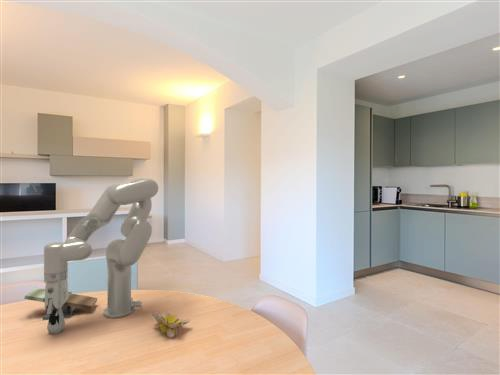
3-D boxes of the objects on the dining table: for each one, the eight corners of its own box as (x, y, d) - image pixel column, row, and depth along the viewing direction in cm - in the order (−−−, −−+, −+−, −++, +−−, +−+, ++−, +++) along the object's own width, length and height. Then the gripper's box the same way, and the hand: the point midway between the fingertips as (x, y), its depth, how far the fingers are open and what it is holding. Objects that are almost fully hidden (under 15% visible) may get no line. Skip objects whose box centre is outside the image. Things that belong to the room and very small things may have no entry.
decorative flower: (197, 327, 113) (191, 304, 112) (172, 345, 106) (165, 320, 104) (176, 317, 124) (170, 295, 122) (151, 333, 116) (145, 310, 115)
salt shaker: (68, 328, 115) (68, 295, 114) (57, 335, 109) (57, 301, 109) (54, 327, 115) (54, 294, 115) (43, 334, 110) (43, 300, 109)
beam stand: (80, 303, 137) (80, 290, 137) (69, 318, 123) (69, 303, 123) (56, 305, 135) (56, 292, 134) (42, 320, 121) (42, 305, 121)
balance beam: (96, 301, 136) (97, 298, 136) (91, 309, 127) (92, 306, 127) (34, 290, 130) (35, 287, 130) (24, 298, 121) (25, 295, 121)
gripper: (58, 282, 105) (58, 333, 105) (74, 268, 121) (74, 313, 121) (34, 283, 103) (34, 335, 103) (53, 269, 119) (53, 314, 119)
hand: (56, 323), depth 112 cm, fingers closed on salt shaker, 3 cm apart
